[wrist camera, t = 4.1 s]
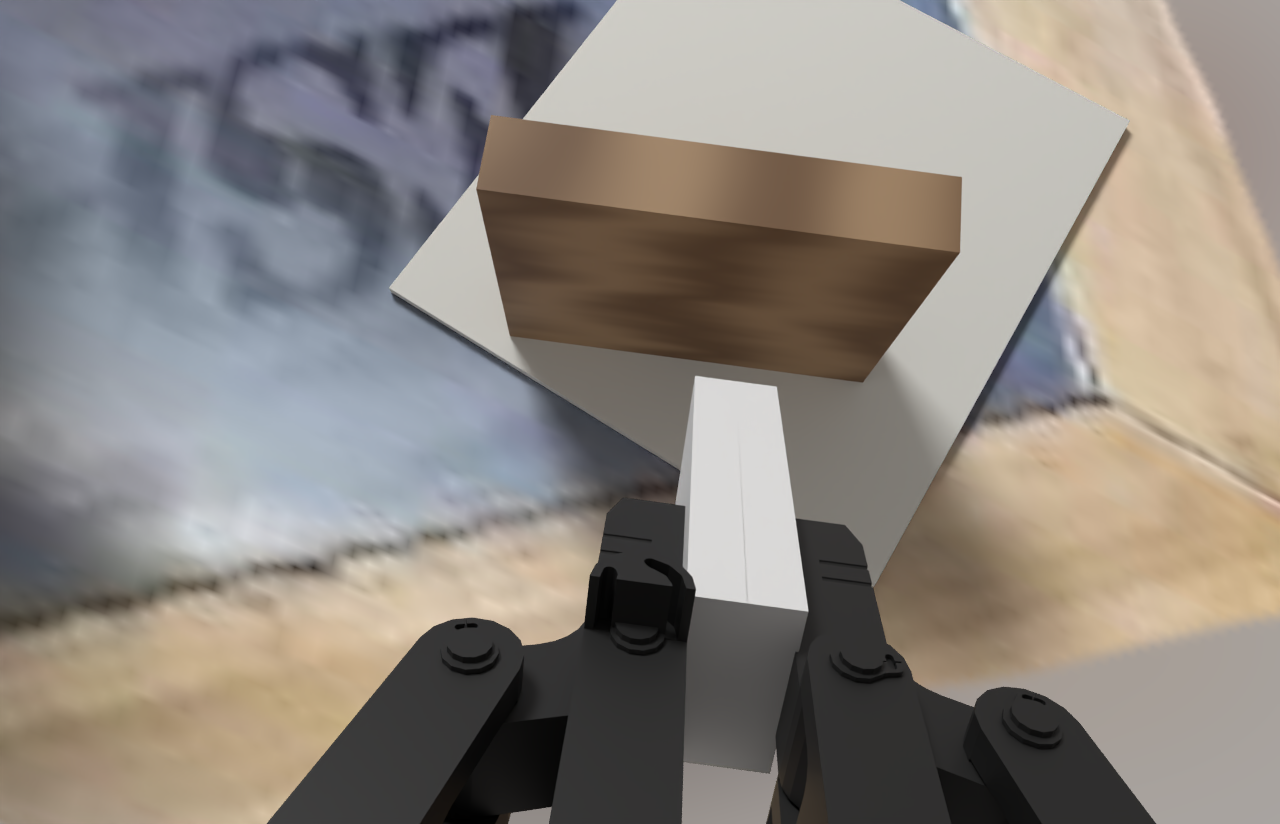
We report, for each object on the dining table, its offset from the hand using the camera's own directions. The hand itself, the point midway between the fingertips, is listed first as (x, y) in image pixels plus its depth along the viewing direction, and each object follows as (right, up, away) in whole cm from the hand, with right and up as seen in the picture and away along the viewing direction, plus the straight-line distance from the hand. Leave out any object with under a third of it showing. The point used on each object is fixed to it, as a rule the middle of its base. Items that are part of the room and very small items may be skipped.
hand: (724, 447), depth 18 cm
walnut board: (0, +4, +21) cm, 21 cm away
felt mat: (+4, +9, +23) cm, 25 cm away
